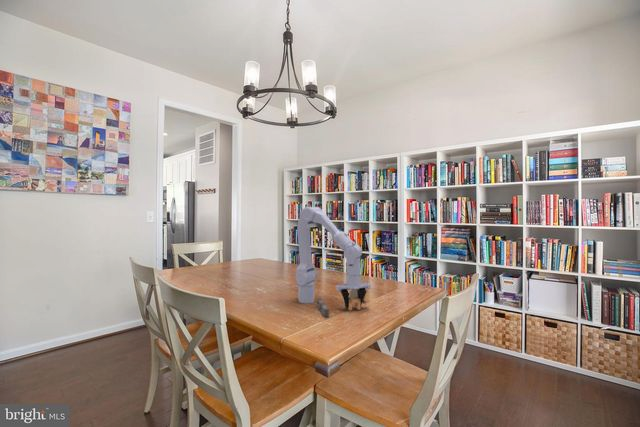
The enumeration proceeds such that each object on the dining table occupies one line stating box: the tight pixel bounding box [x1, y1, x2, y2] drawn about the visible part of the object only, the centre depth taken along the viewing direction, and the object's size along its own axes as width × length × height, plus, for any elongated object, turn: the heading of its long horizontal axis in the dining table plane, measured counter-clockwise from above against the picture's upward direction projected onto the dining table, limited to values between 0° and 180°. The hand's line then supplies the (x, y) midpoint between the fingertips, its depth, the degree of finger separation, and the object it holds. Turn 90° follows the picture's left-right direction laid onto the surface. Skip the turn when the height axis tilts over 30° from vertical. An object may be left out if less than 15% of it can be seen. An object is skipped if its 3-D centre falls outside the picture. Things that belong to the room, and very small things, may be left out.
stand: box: [316, 298, 330, 319], centre depth 118 cm, size 18×8×4 cm, turn 13°
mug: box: [349, 289, 366, 301], centre depth 136 cm, size 8×10×10 cm
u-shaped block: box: [346, 296, 362, 311], centre depth 120 cm, size 4×5×4 cm
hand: (353, 306), depth 121 cm, fingers closed on u-shaped block, 5 cm apart
